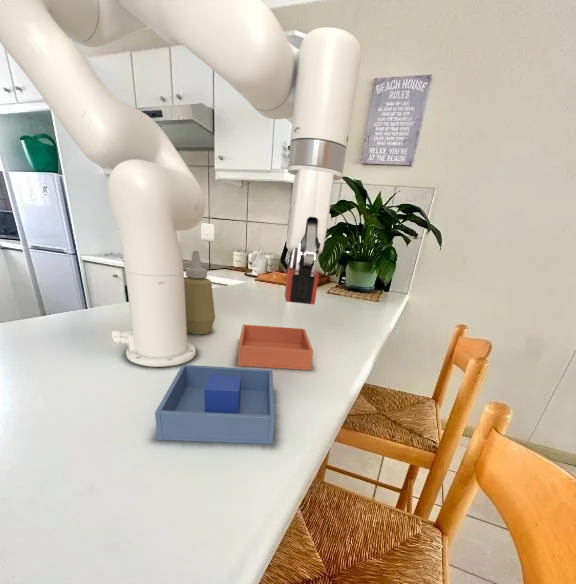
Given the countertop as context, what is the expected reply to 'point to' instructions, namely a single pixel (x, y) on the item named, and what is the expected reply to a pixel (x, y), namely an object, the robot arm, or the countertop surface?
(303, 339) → the red bin
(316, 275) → the red block
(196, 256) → the squeeze bottle
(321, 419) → the countertop surface
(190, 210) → the robot arm
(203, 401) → the blue bin
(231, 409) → the blue block
